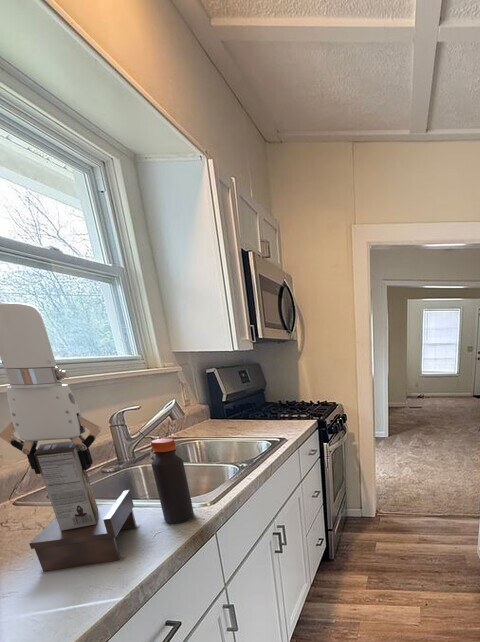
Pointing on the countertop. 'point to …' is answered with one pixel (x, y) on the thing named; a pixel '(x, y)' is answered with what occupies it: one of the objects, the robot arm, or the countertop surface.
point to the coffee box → (67, 485)
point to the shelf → (85, 538)
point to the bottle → (171, 482)
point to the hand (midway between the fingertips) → (64, 469)
